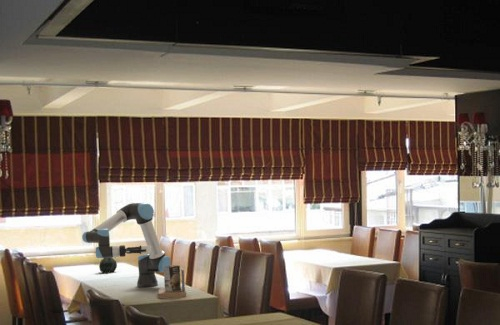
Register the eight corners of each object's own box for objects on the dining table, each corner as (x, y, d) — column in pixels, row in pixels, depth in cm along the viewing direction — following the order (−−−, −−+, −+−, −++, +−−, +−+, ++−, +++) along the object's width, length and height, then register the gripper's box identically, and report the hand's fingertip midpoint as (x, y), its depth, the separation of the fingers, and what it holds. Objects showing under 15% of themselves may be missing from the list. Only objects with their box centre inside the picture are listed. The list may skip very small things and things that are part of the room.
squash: (99, 265, 629) (99, 253, 619) (116, 264, 632) (116, 253, 622) (99, 277, 618) (99, 266, 608) (117, 277, 621) (117, 265, 612)
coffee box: (171, 291, 477) (169, 267, 477) (164, 290, 481) (163, 266, 482) (181, 289, 484) (179, 265, 484) (174, 288, 488) (173, 265, 489)
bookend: (182, 287, 491) (181, 267, 492) (184, 287, 491) (183, 266, 492) (182, 291, 475) (181, 270, 476) (184, 291, 476) (183, 269, 476)
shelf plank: (159, 293, 492) (158, 288, 492) (185, 291, 494) (185, 286, 495) (158, 298, 471) (158, 293, 471) (186, 296, 473) (186, 291, 473)
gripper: (120, 254, 495) (151, 252, 498) (118, 258, 470) (151, 256, 473) (119, 243, 495) (150, 241, 498) (118, 247, 470) (150, 245, 473)
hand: (151, 248), depth 485 cm, fingers open, 13 cm apart
